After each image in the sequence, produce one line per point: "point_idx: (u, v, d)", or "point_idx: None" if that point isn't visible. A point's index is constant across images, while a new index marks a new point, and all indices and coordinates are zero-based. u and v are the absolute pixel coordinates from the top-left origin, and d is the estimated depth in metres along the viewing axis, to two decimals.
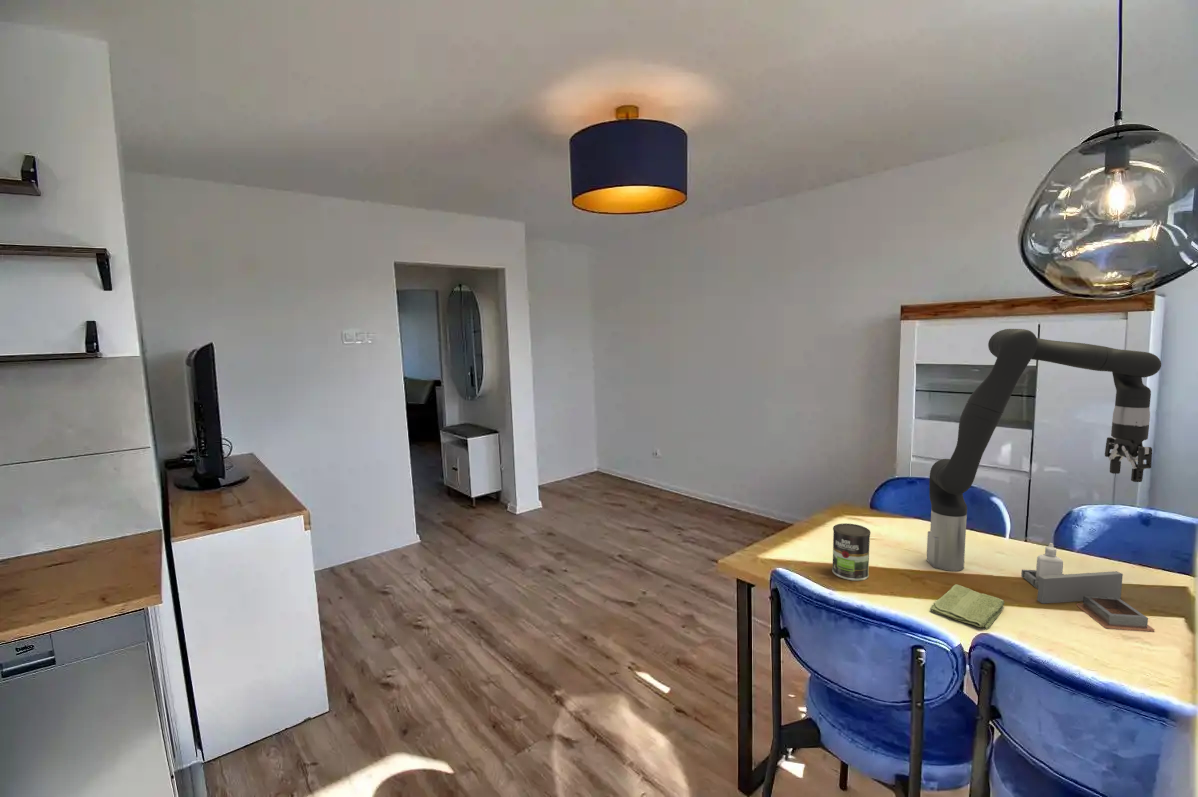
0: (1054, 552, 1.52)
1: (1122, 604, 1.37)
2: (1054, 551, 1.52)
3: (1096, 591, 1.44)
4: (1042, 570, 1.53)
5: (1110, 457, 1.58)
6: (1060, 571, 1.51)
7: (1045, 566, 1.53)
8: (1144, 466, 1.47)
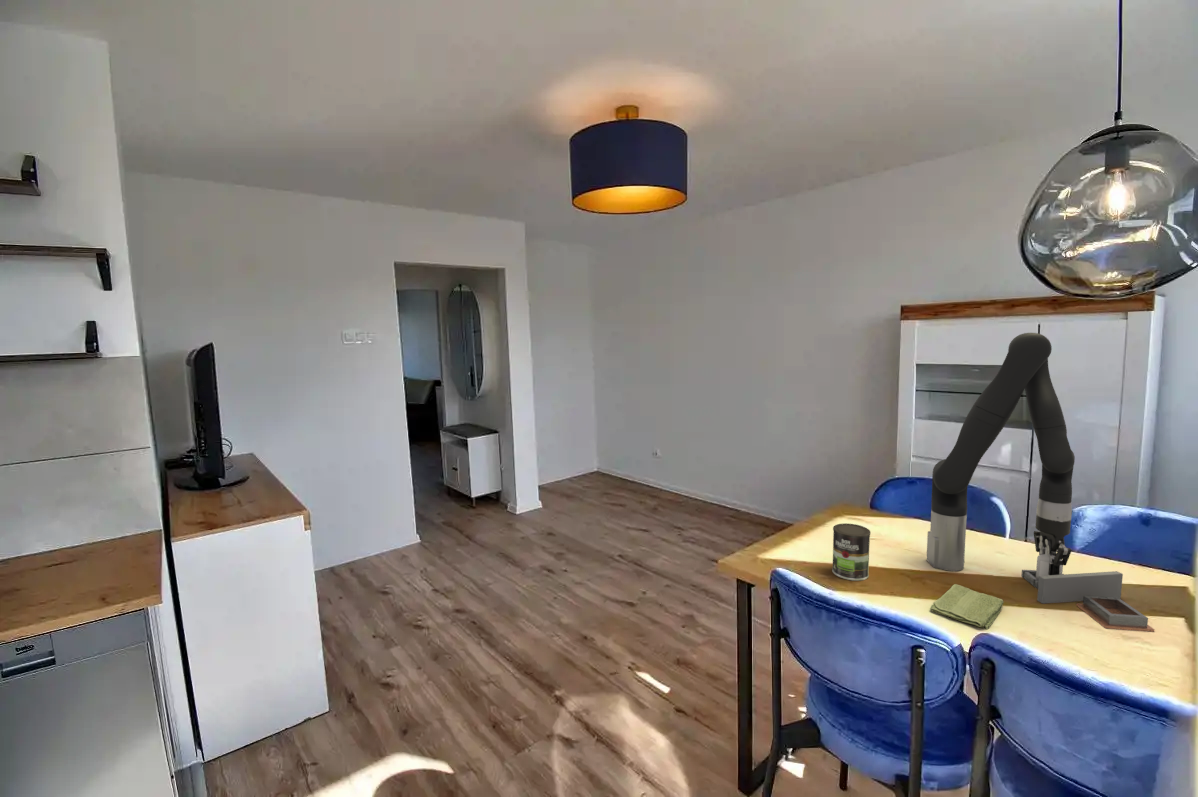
0: (1054, 552, 1.52)
1: (1122, 604, 1.37)
2: None
3: (1096, 591, 1.44)
4: (1042, 570, 1.53)
5: (1040, 553, 1.56)
6: (1060, 571, 1.51)
7: (1045, 566, 1.53)
8: (1059, 564, 1.48)
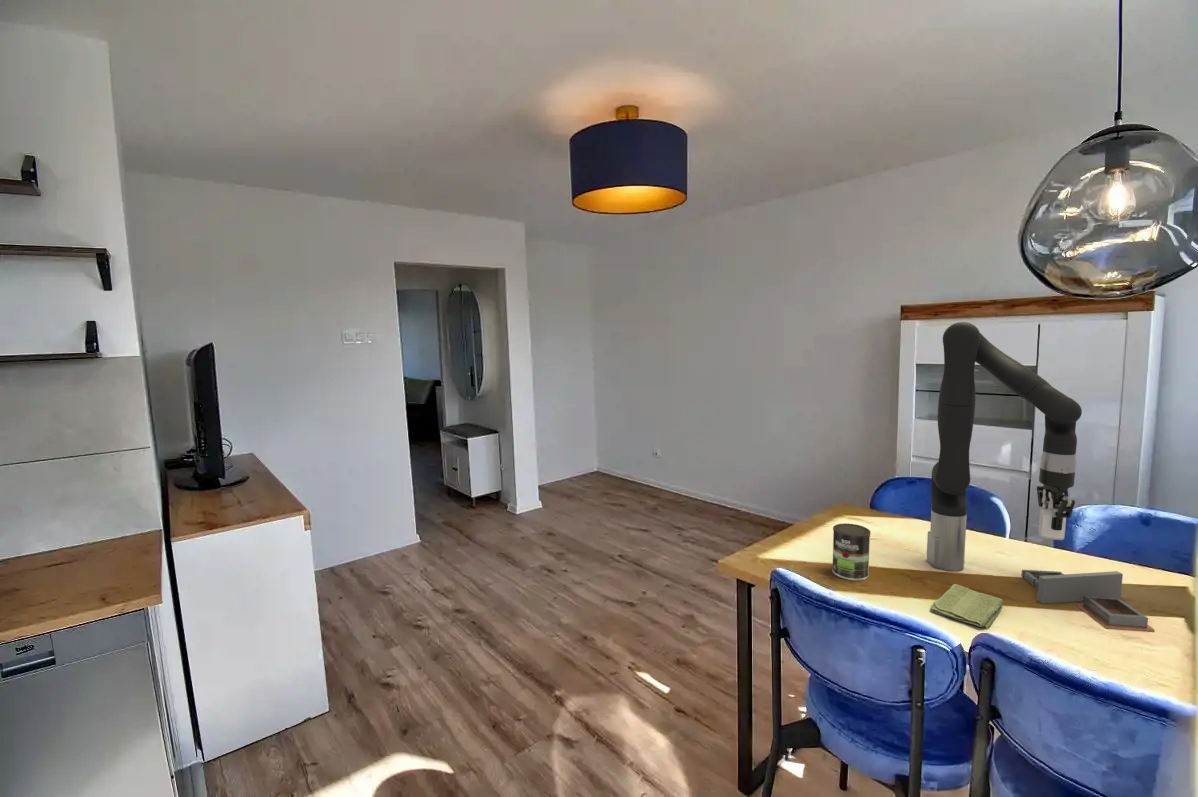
0: (1057, 505, 1.50)
1: (1122, 604, 1.37)
2: None
3: (1096, 591, 1.44)
4: (1045, 524, 1.51)
5: (1043, 508, 1.54)
6: (1063, 525, 1.50)
7: (1048, 520, 1.51)
8: (1062, 516, 1.47)
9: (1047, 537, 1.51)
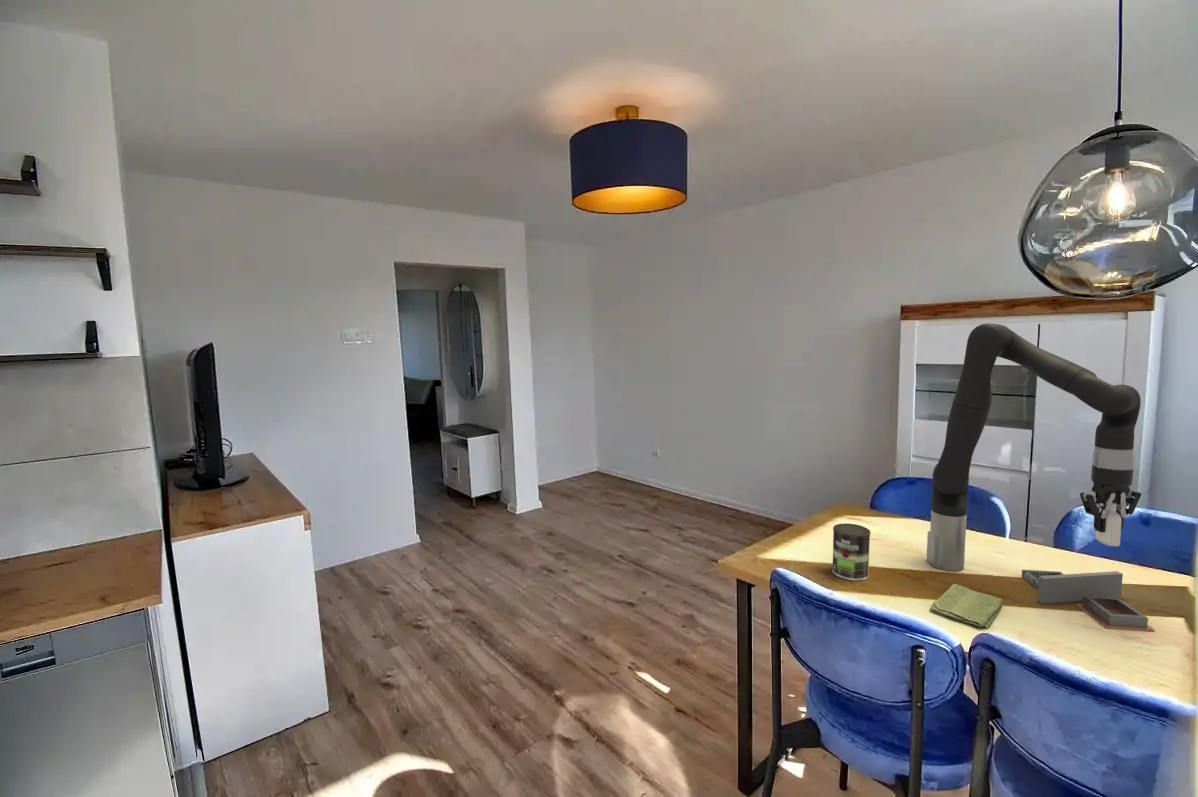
0: None
1: (1122, 604, 1.37)
2: None
3: (1096, 591, 1.44)
4: None
5: None
6: (1108, 528, 1.34)
7: None
8: (1089, 512, 1.36)
9: (1096, 538, 1.38)
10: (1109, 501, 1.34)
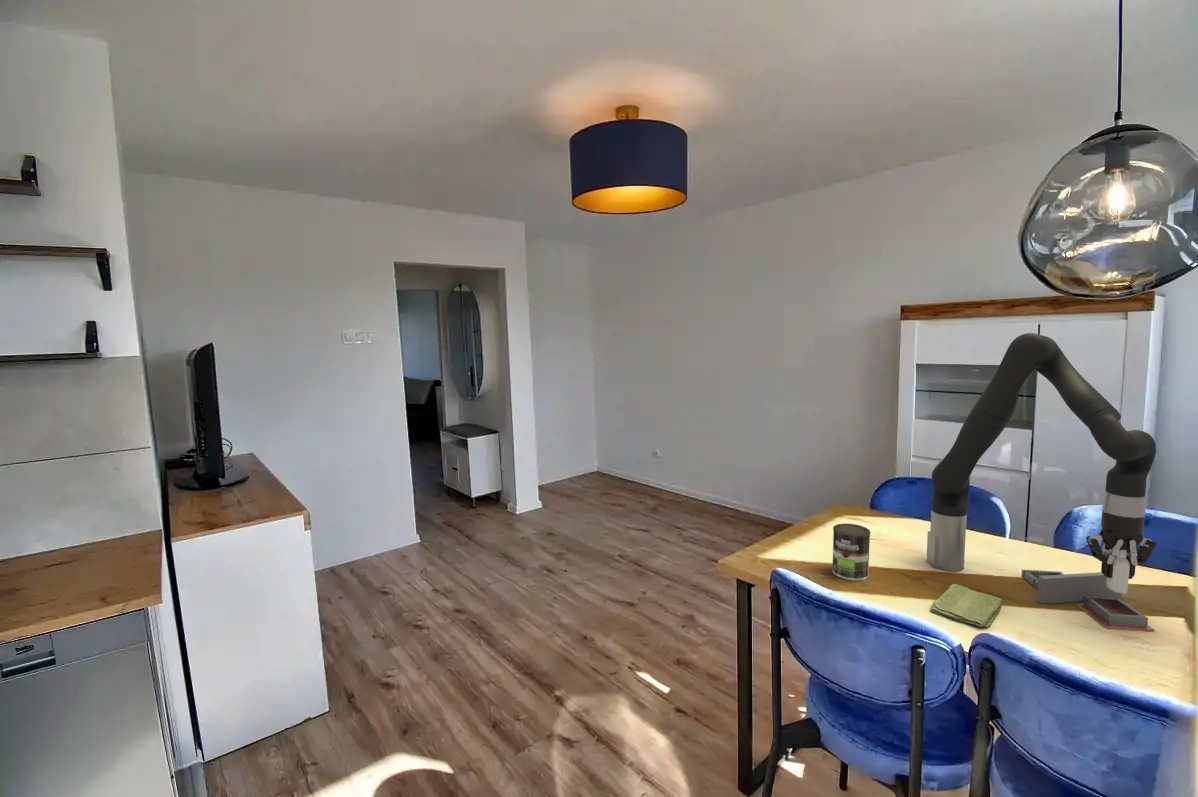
0: None
1: (1122, 604, 1.37)
2: None
3: (1096, 591, 1.44)
4: None
5: None
6: (1115, 574, 1.33)
7: None
8: (1095, 557, 1.35)
9: (1106, 584, 1.36)
10: (1116, 547, 1.32)
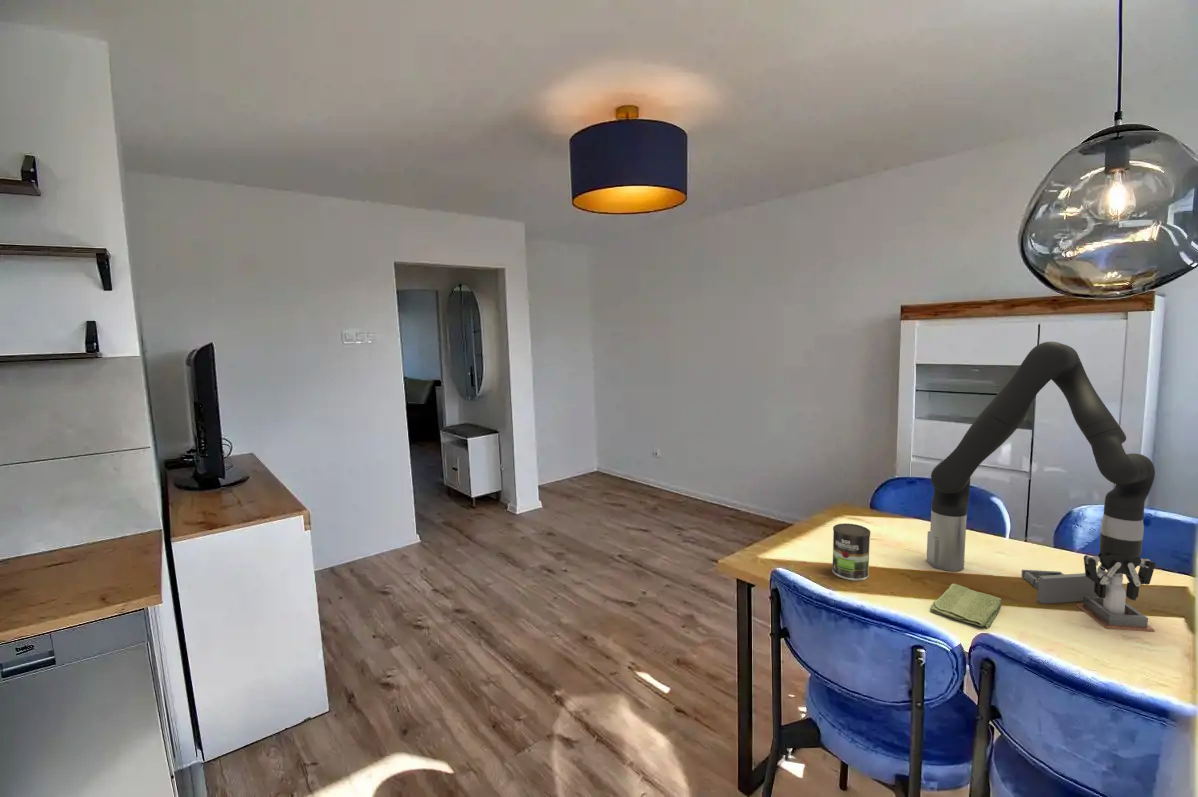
0: (1111, 579, 1.34)
1: None
2: (1111, 577, 1.34)
3: None
4: None
5: None
6: (1111, 601, 1.34)
7: None
8: (1088, 576, 1.36)
9: None
10: (1113, 569, 1.33)
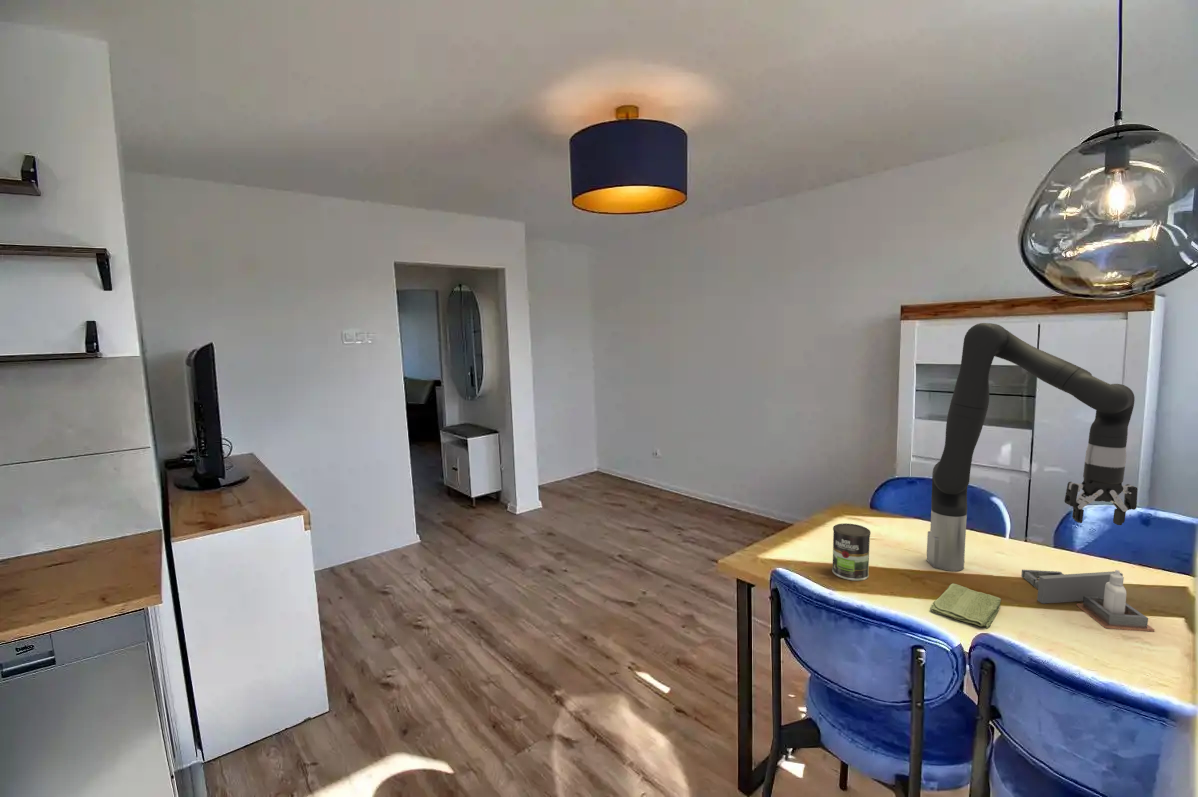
0: (1112, 579, 1.34)
1: None
2: (1112, 578, 1.34)
3: (1096, 591, 1.44)
4: (1104, 595, 1.37)
5: None
6: (1112, 601, 1.34)
7: (1104, 592, 1.37)
8: (1067, 502, 1.40)
9: None
10: (1094, 495, 1.37)
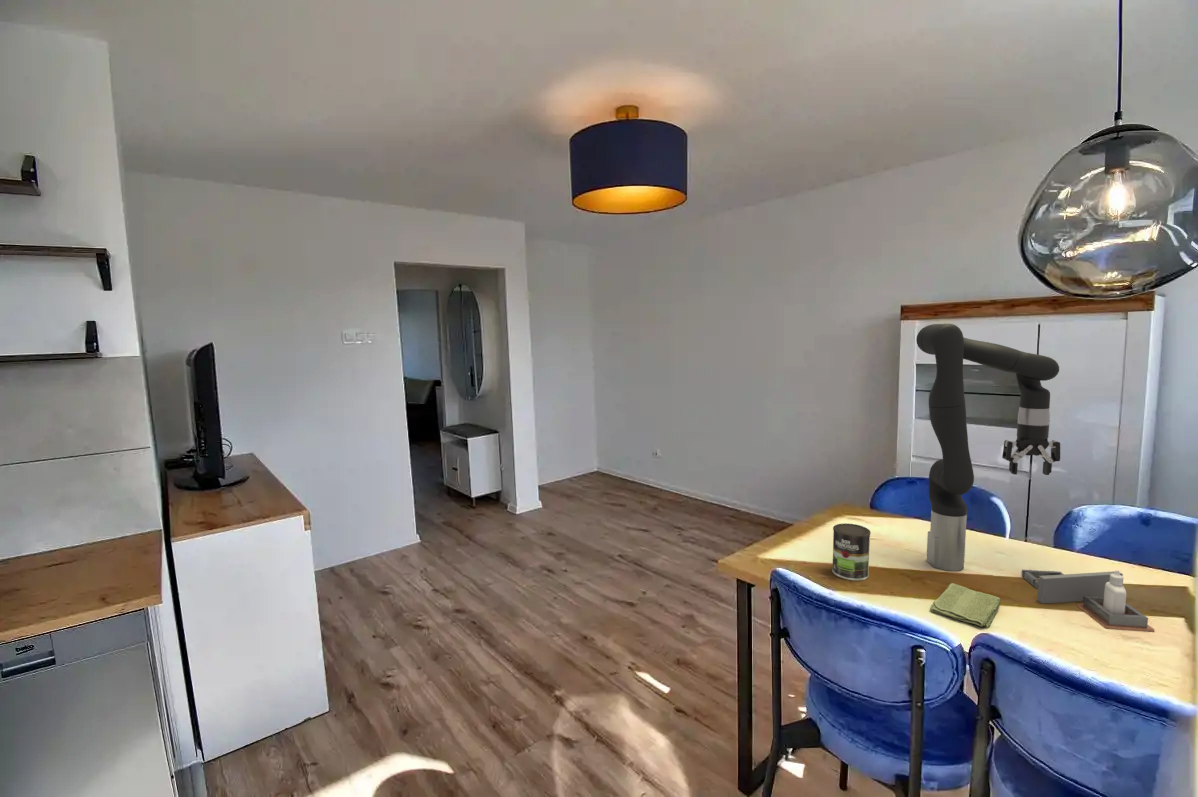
0: (1112, 579, 1.34)
1: None
2: (1112, 578, 1.34)
3: (1096, 591, 1.44)
4: None
5: None
6: (1112, 601, 1.34)
7: (1104, 591, 1.37)
8: (1004, 457, 1.66)
9: None
10: (1025, 450, 1.63)
